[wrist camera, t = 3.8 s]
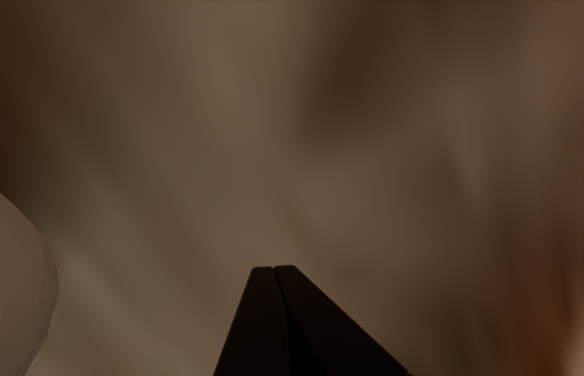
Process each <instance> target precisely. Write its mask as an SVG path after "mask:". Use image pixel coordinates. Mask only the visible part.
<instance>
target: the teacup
mask: <svg viewBox="0 0 584 376" xmlns="http://www.w3.org/2000/svg"><path fill="white" fill-rule="evenodd" d="M58 292H59V284H58V278H57V271H56V265H55V259H54V256H53V254H52V252H51V250H50V248H49V246H48V244H47V242H46V240H45V239H44V237H43V235H42V234H41V233H40V232H39V231H38V229H37V228H36V227H35V226H34V225H33V224H32V223H31V222H30V220H29V219H28V218H27V217H26V216H25V215H24V214H23V213H22V212H21V211H20V210H19V209H18V208H17V207H16V206H15V205H13V204H12V203H11V202H10V201H9V200H8V199H7V198H6V197H5V196H4V195H2V194H1V193H0V376H24V375H25V374H26V372H27V370H28V368H29V367H30V365H31V363H32V361H33V360H34V358H35V356H36V354H37V353H38V351H39V349H40V348H41V346H42V344H43V342H44V341H45V339H46V337H47V334H48V330H49V326H50V322H51V318H52V315H53V311H54V307H55V303H56V300H57V296H58Z"/></svg>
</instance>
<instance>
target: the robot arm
mask: <svg viewBox="0 0 584 376" xmlns="http://www.w3.org/2000/svg"><path fill="white" fill-rule="evenodd" d="M213 376H413V375H412V374H408V370H407V369H406V368H404V367H403V366H402V365H401V364H400V363H399V362H398V361H397V360H396V359H395V358H394V357H393V356H392V355H390V354H389V353H388V352H387V351H386V350H385V349H384V348H383V347H382V346H381V345H380V344H379V343H378V342H376V341H375V340H374V339H373V338H372V337H371V336H370V335H369V334H368V333H367V332H366V331H365V330H364V329H362V328H361V327H360V326H359V325H358V324H357V323H356V322H355V321H354V320H353V319H352V318H351V317H349V316H348V315H347V314H346V313H345V312H344V311H343V310H342V309H341V308H340V307H339V306H338V305H337V304H335V303H334V302H333V301H332V300H331V299H330V298H329V297H328V296H327V295H326V294H325V293H324V292H323V291H321V290H320V289H319V288H318V287H317V286H316V285H315V284H314V283H313V282H312V281H311V280H310V279H309V278H307V277H306V276H305V275H304V274H303V273H302V272H301V271H300V270H299V269H298V268H297V267H295V266H294V265H280V266H275V267H274V269H273V268H272V267H271V266H264V267H254V268H252V270H251V272H250V275H249V278H248V281H247V283H246V286H245V289H244V292H243V294H242V297H241V300H240V303H239V305H238V308H237V311H236V314H235V316H234V319H233V322H232V324H231V327H230V330H229V333H228V335H227V338H226V341H225V344H224V346H223V349H222V352H221V355H220V357H219V360H218V363H217V366H216V368H215V371H214V374H213Z"/></svg>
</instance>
